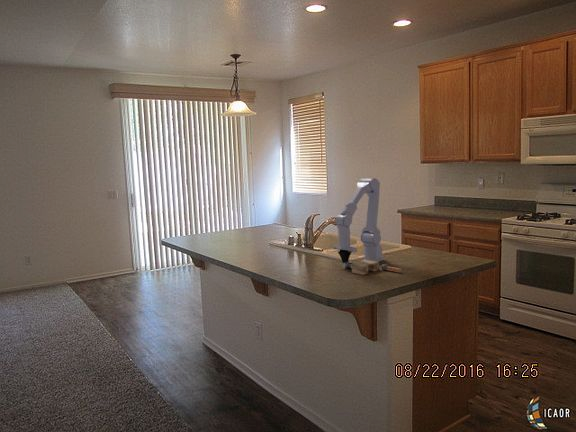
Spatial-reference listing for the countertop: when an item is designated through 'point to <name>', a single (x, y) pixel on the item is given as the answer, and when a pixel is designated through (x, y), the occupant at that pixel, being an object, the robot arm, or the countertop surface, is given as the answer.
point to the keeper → (391, 268)
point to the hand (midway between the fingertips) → (345, 264)
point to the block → (365, 267)
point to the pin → (347, 265)
